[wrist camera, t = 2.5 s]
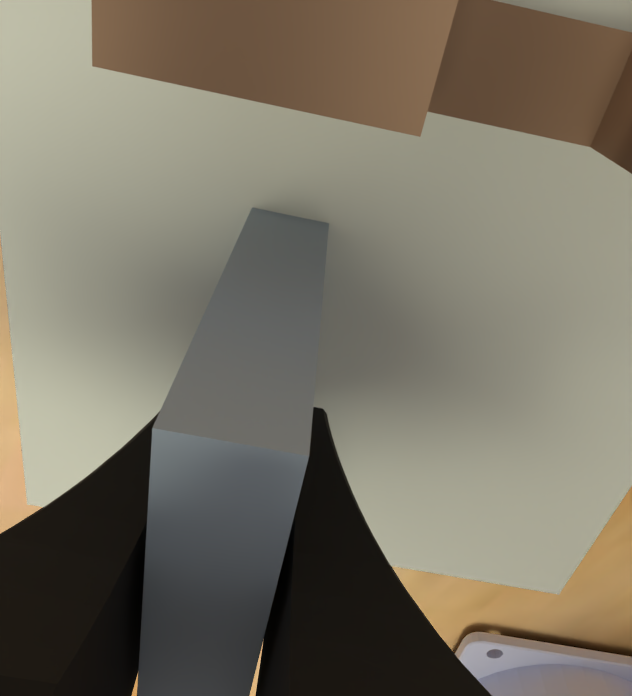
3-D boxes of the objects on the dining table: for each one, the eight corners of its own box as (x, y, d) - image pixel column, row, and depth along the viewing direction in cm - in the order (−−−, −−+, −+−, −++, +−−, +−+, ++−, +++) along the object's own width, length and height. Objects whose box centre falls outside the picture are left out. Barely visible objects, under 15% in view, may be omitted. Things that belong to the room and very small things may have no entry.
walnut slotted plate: (813, 78, 10) (1051, 121, 7) (758, 169, 11) (944, 249, 8) (183, -68, 9) (90, -102, 6) (177, 41, 10) (92, 66, 7)
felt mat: (1118, -270, 8) (1141, -277, 8) (555, 585, 18) (559, 594, 18) (-70, -599, 7) (-86, -620, 7) (31, 496, 17) (27, 504, 17)
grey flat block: (329, 223, 12) (309, 456, 6) (270, 496, 16) (224, 794, 10) (251, 207, 12) (152, 427, 6) (213, 486, 16) (132, 781, 10)
